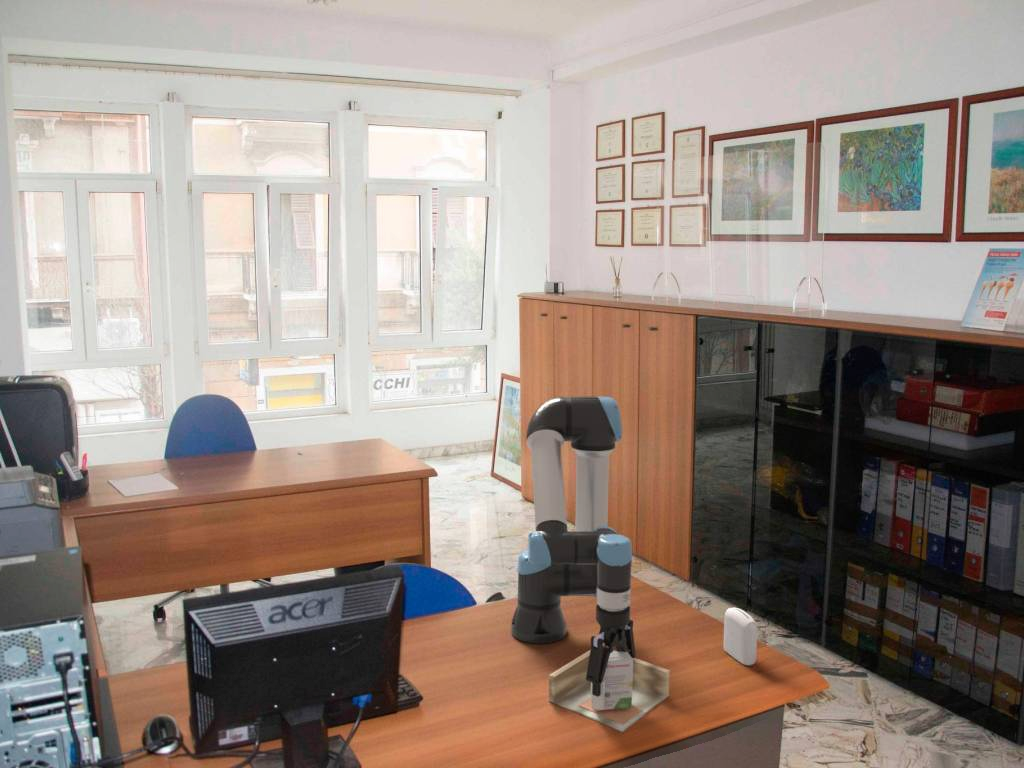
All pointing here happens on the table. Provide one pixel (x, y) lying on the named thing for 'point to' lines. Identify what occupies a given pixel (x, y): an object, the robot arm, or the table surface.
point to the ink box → (618, 681)
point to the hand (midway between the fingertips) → (610, 698)
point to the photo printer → (740, 636)
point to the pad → (613, 712)
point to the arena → (575, 689)
